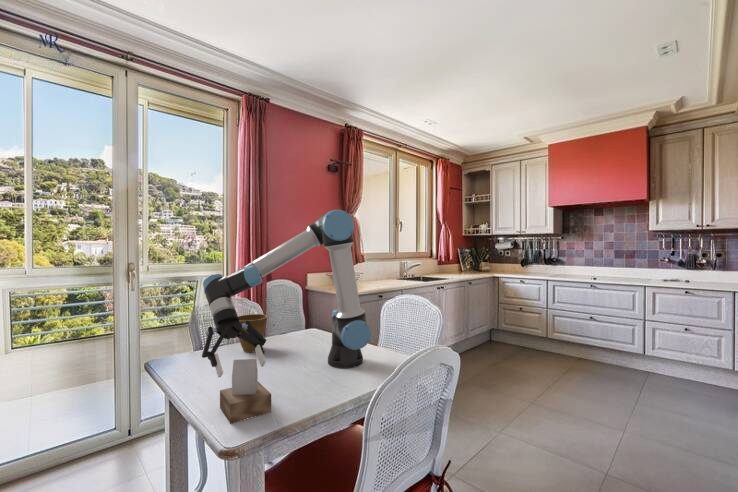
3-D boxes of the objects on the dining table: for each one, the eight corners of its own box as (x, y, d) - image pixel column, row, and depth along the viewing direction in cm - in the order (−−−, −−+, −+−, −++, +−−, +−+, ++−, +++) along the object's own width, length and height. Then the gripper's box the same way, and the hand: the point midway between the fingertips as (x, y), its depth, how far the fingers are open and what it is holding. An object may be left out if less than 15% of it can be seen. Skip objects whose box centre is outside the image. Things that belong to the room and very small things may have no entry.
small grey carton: (254, 394, 108) (254, 361, 108) (232, 395, 108) (231, 361, 108) (257, 389, 112) (257, 357, 112) (235, 390, 111) (235, 358, 111)
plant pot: (254, 344, 182) (254, 312, 182) (273, 349, 173) (273, 316, 173) (228, 351, 170) (228, 317, 170) (247, 357, 161) (247, 321, 161)
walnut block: (258, 399, 118) (258, 381, 118) (271, 413, 109) (271, 393, 109) (220, 409, 111) (219, 390, 111) (230, 425, 102) (230, 404, 102)
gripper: (255, 315, 132) (275, 366, 121) (182, 326, 115) (197, 386, 104) (262, 303, 128) (283, 354, 117) (187, 312, 111) (203, 373, 100)
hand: (243, 369), depth 111 cm, fingers open, 13 cm apart
